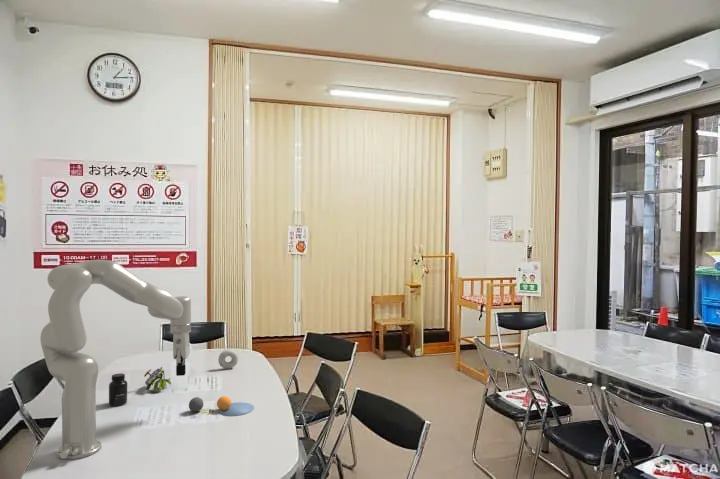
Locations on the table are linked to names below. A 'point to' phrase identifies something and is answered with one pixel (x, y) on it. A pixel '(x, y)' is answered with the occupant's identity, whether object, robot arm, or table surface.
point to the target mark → (237, 409)
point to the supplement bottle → (118, 390)
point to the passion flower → (154, 377)
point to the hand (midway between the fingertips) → (180, 374)
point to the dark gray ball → (196, 404)
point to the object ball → (224, 403)
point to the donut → (232, 363)
